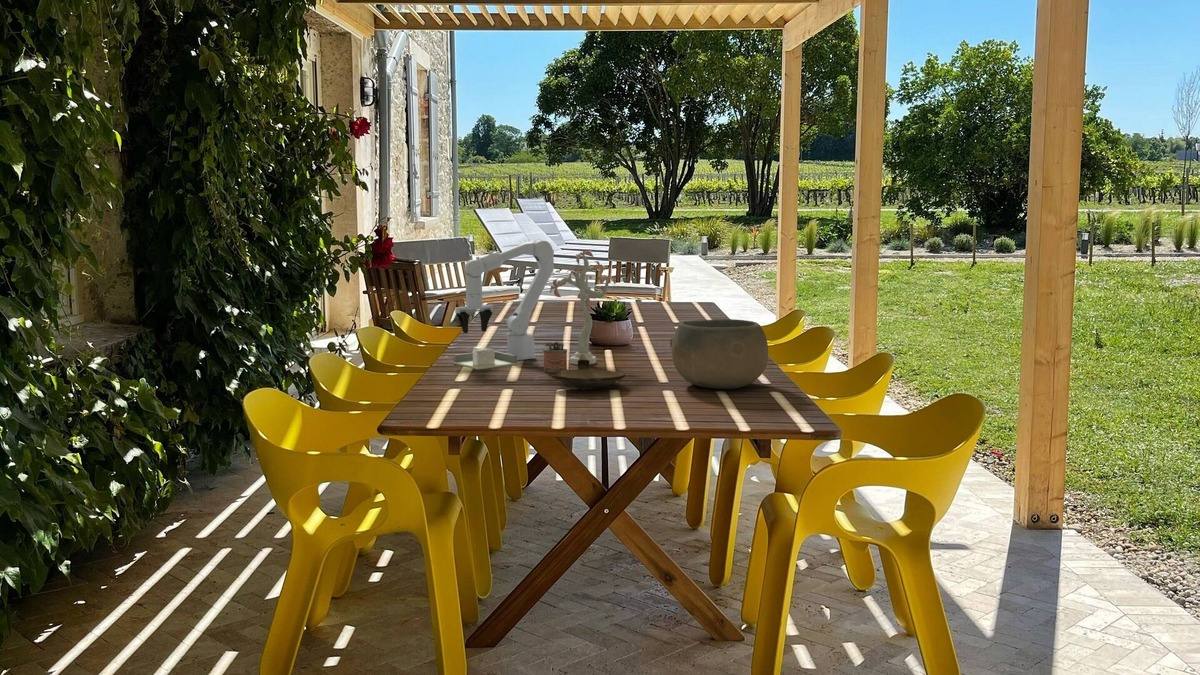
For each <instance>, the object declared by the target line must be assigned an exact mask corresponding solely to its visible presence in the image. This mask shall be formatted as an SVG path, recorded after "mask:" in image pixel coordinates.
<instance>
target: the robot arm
mask: <svg viewBox="0 0 1200 675" xmlns="http://www.w3.org/2000/svg"><path fill="white" fill-rule="evenodd" d="M554 254H555V252H554V249H553V246H552V244H551V242H549V241H547V240H542V239H535V240H532V241H527V242H524V243H521V244H519V245H516V246H513V247H512V248H510V249H507V250H504V251H502V252H499V251H492V250H490V251H488V252H487V254H485V255H482V256H476V257H475V259H470V260H468V261H467V262H466V263H465V265H464V268H463V270H464V273H465V305H464V306H458V307H454V310H455V315H456V317H457V319H458V320H459V323H460V327H461V329H462V333H463V334H468V333H469V319H470V314H468V313H473V312H474V313H476V312H479V317H480V328H481V329H480V330H481V332H487V329H488V325H489V321H490V320H491V317H492V316H493V311H494V305H493V304H483V280H482V275H483V273H487V272H490V271H492V270H495V269H498V268H500V267H502V265H503V263H504V262H506V261H509V260H513V259H515V258H518V257H520V256H523V255H527V256H533V257H534V259H535V260H536V263H537V266H538V269H537V271H536V274H535V275H534V277H533V278H532V281H531V283H530V284H529V287H528V288H527V291H526V292H525V293H524V296H523V298H522V299H521V301H520V303H519V304H518V306H517V307H516V309H515V310H514V311H513V313H512V314H510V315H509V317H508V318H506V324H505V325H506V327H507V329H508V332H507V333H506V341H507V346H506V348H507V352H506V353H507V354H511V355H516V356H517V361H523V360H524V361H525V360H531V359H536V358H537V357H536V352H535V351H536V350H535V338H534V336H533V334H531V333H528V331H527V330H528V328H529V321H530V320H531V315H532V311H533V310H534V308H535V306H536V304H537V302H538V300H539V299H540V296H541V295H542V293H543V291H544V289H545V287H546V285H547V284H548V282H549V279H550V278H551V276H552V274H553V272H554V269H555V263H554V262H555V261H554Z"/></svg>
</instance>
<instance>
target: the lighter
mask: <svg viewBox="0 0 1200 675" xmlns="http://www.w3.org/2000/svg"><path fill="white" fill-rule="evenodd" d="M564 344H565V343H564V342H558V341H555V342H553V341H552V342H550V341H549V342H545V347H548V348H544V349H542V350H543V351H542V352H543V373H557V372H558V371H561V370H568V355H567V354H568V348H567V349H566V348H564V347H565V345H564Z"/></svg>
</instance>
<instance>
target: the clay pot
mask: <svg viewBox="0 0 1200 675" xmlns="http://www.w3.org/2000/svg"><path fill="white" fill-rule="evenodd" d="M669 347H670V348H671V355H672V362H673V365H674V367H675V370H676V371H677V372H678V374H679V375H680V376H681V377H682V378H683V379H684V380H685V382H688V383H690V384H692V385H694V386H697V387H703V388H707V389H714V390H733V389H740V388H744V387H746V386H748V385H750V384H752V383H754V382H756V380H758V378H760V377H761V375H762V374H764V372H765V370H766V368H767V365H768V361H769V346H768V338H767V335H766V333H765V331H764V329H763V328H762V326H761V325H760V324H759V323H758V322H757V321H753V320H748V319H747V320H745V319H735V318H734V319H732V318H730V319H726V318H725V319H724V318H723V319H722V318H721V319H718V318H717V319H715V318H714V319H699V320H698V319H697V320H682V321H680V323H679V324H678V326H677V327H676V328H675V331H674V335H673V336H671V338H670V342H669Z"/></svg>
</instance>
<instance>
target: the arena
mask: <svg viewBox="0 0 1200 675" xmlns="http://www.w3.org/2000/svg"><path fill="white" fill-rule="evenodd" d="M494 352H495V364H489V365H481V366H476V365H473V352H468V353H467V352H466V353H465V352H464V353H457V354H453V364H454V365H458V366H462V367H467V368H470V369H475V370H486V369H493V368H500V367H508V366H515V365H518V360H517V356H516V355H511V354H508V352H501V351H497V350H494Z"/></svg>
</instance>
